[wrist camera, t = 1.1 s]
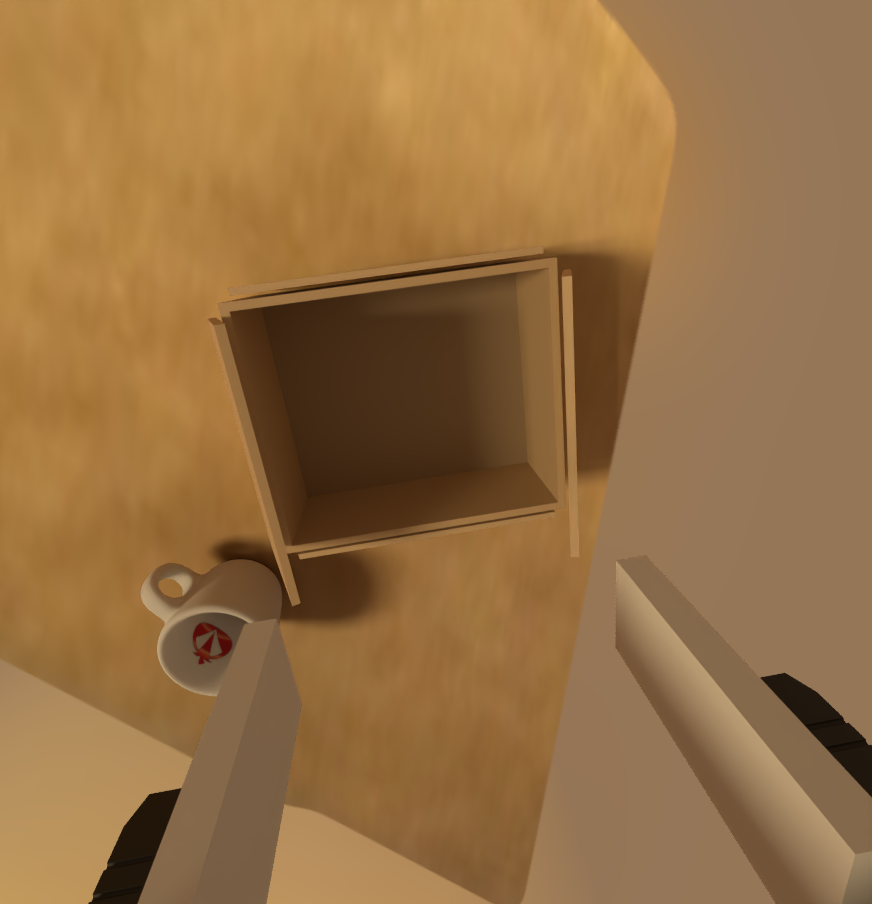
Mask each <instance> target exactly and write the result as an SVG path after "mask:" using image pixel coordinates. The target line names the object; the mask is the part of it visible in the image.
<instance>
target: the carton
mask: <svg viewBox="0 0 872 904" xmlns="http://www.w3.org/2000/svg"><path fill="white" fill-rule="evenodd" d="M542 253H544V249H543V246H538V247H530V248H523V249H515V250H508V251H500V252H493V253H486V254H478V255H471V256H463V257H456V258H448V259H441V260H434V261H426V262H419V263H411V264H404V265H397V266H389V267H382V268H374V269H367V270H359V271H352V272H345V273H337V274H330V275H322V276H315V277H307V278H300V279H293V280H285V281H278V282H270V283H263V284H255V285H248V286H241V287H233V288H228V289H229V293H230V296H232V295H240V294H247V293H255V292H262V291H269V290H277V289H284V288H291V287H299V286H306V285H314V284H321V283H328V282H336V281H343V280H350V279H358V278H365V277H373V276H380V275H387V274H395V273H402V272H409V271H417V270H424V269H432V268H439V267H446V266H454V265H461V264H468V263H476V262H483V261H491V260H498V259H505V258H513V257H520V256H527V255H535V254H542ZM218 306H219V310H220V314H221V317H222V321H223V323H224V324H225V327H226V331H227V335H228V338H229V342H230V346H231V349H232V353H233V357H234V360H235V364H236V368H237V371H238V375H239V379H240V382H241V386H242V390H243V393H244V397H245V401H246V404H247V408H248V412H249V415H250V419H251V423H252V426H253V430H254V434H255V437H256V441H257V445H258V448H259V452H260V456H261V460H262V463H263V467H264V471H265V474H266V478H267V482H268V485H269V489H270V493H271V496H272V500H273V504H274V507H275V511H276V515H277V518H278V522H279V526H280V529H281V533H282V537H283V540H284V544H285V548H286V551H287V554H289V553H295V552H299V554H298V555H299V559H306V558H312V557H318V556H324V555H330V554H336V553H342V552H348V551H354V550H360V549H366V548H372V547H378V546H384V545H390V544H396V543H402V542H408V541H414V540H420V539H426V538H432V537H438V536H444V535H450V534H456V533H462V532H468V531H474V530H480V529H486V528H492V527H498V526H504V525H510V524H516V523H522V522H528V521H534V520H540V519H546V518H552V517H555V511H554V510H555V509H561V508H566V495H565V467H564V439H563V410H562V382H561V354H560V325H559V297H558V269H557V257H553V258H539V259H524V260H515V261H507V262H500V263H493V264H485V265H478V266H471V267H463V268H456V269H449V270H441V271H434V272H426V273H419V274H412V275H404V276H397V277H390V278H382V279H375V280H368V281H360V282H353V283H346V284H338V285H331V286H324V287H316V288H309V289H301V290H294V291H287V292H279V293H272V294H265V295H257V296H251V297H246V298H241V299H237V300H232V301H227V302H222V303H218Z"/></svg>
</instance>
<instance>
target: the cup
mask: <svg viewBox="0 0 872 904" xmlns="http://www.w3.org/2000/svg"><path fill="white" fill-rule="evenodd" d="M165 578H169V579H173V580H175V581H177V582H178V583H179V584H180V585H181V587H182V589H183V595H182V596H181V597H178V598H172V597H169V596H166V595H165V594H163V593H162V592H161V591H160V589H159V587H158V583H159V581H160V580H162V579H165ZM141 599H142V601H143V603H144V604H145V606H146V607H147V608H148V609H149V610H150V611H152V612H153V613H154V614H156V615H157V616H158V617H160V618H161V619H162V620H163V621H164V622H165V626H164V628H163V629H162V631H161V633H160V636H159V639H158V644H157V652H158V658H159V661H160V664H161V666H162V668H163V669H164V671H165V672H166V674H167V675H168V676H169V677H170V678H171V679H172V680H173V681H174V682H176V683H177V684H179V685H180V686H182V687H183V688H185V689H187V690H190V691H192V692H195V693H198V694H203V695H208V696H217V694H218V692H219V689H220V687H221V684H222V681H223V679H224V676H225V673H226V671H227V668H228V666H229V663H230V660H231V658H232V655H233V652H234V650H235V647H236V645H237V642H238V639H239V637H240V634H241V632H242V629H243V626H244V624H247V623H253V622H259V621H265V620H271V619H277V622H278V625H279V623H280V615H281V608H282V589H281V586H280V583H279V581H278V579H277V577H276V576H275V574H274V573H273V572H272V571H271V570H270V569H269V568H267V567H266V566H264V565H262V564H260V563H258V562H255V561H252V560H246V559H235V560H230V561H226V562H223V563H221V564H219V565H217V566H216V567H214V568H213V569H211V570H210V571H209V572H208V573H206V574H204V575H200V574H197V573H195V572H194V571H192V570H190V569H189V568H187V567H185V566H183V565H180V564H176V563H167V564H164V565H162V566H160V567H158V568H156V569H155V570H154V571H153V572H152V573H151V574H150V575H149V576H148V577H147V579H146V580H145V582H144V583H143V585H142V588H141Z"/></svg>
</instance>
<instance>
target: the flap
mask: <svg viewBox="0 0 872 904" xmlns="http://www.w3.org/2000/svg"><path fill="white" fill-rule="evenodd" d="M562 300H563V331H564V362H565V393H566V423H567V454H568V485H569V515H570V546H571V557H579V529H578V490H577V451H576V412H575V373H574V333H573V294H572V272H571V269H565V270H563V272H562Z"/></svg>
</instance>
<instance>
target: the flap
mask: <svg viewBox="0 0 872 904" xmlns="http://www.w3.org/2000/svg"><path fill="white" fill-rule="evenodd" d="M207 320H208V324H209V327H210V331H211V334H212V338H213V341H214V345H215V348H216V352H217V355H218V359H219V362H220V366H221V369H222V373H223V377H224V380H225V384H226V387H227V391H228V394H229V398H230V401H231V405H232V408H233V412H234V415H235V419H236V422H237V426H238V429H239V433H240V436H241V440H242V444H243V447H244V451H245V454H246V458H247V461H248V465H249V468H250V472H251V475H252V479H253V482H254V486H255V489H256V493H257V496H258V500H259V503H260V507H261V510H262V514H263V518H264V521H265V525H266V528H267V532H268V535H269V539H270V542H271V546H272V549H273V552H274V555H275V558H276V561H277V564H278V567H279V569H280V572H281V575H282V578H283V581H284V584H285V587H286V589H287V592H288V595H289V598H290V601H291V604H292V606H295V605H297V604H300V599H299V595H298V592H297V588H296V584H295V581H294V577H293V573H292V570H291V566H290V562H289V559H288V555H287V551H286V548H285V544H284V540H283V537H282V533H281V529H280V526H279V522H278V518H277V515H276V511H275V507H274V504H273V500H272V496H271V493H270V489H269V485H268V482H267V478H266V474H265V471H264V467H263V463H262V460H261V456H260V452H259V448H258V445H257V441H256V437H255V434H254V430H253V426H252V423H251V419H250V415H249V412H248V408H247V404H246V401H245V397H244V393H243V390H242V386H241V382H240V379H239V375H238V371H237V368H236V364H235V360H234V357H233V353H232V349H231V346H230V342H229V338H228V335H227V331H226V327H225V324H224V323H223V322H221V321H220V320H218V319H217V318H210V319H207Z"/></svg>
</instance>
